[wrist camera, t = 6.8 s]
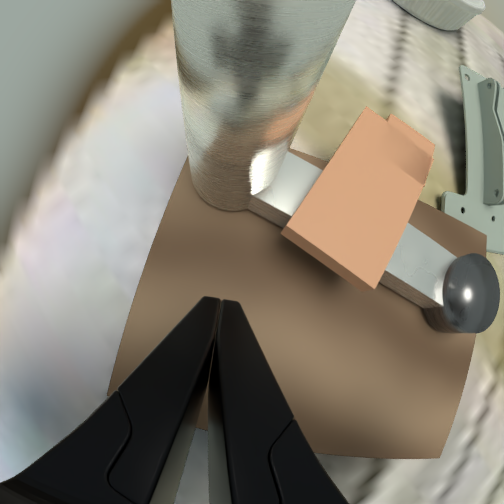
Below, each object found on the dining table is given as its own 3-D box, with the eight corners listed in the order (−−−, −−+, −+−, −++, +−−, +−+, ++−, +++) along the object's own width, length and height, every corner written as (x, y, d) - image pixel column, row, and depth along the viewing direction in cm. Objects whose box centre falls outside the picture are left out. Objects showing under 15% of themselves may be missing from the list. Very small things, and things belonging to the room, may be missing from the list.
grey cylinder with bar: (477, 280, 14) (650, 233, 3) (458, 343, 13) (651, 336, 2) (217, 124, 14) (236, -110, 3) (175, 186, 13) (120, -73, 2)
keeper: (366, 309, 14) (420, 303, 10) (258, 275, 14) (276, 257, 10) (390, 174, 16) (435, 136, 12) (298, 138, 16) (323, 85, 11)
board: (429, 452, 13) (439, 458, 12) (113, 390, 12) (106, 395, 11) (476, 239, 16) (487, 235, 15) (203, 132, 15) (203, 121, 14)
